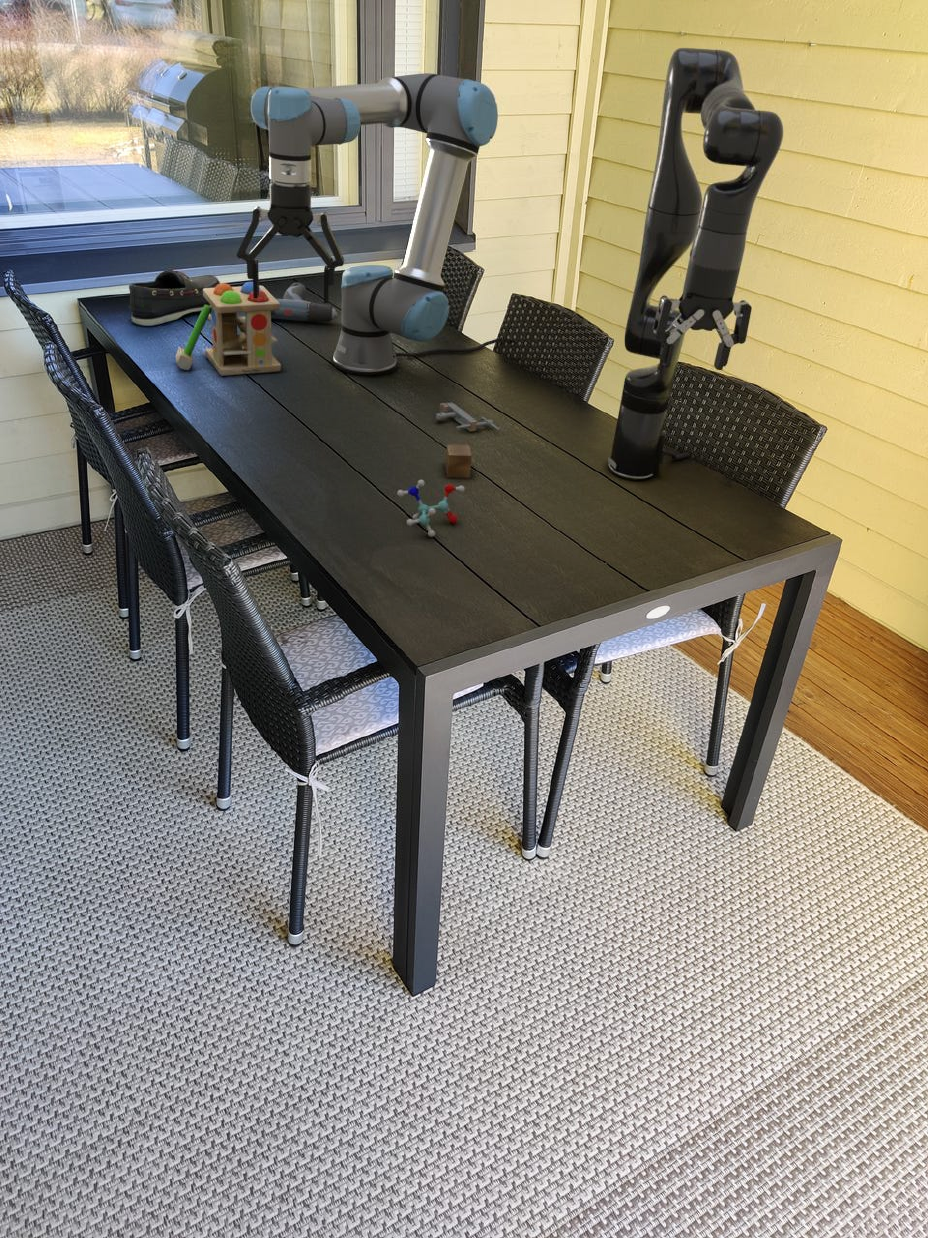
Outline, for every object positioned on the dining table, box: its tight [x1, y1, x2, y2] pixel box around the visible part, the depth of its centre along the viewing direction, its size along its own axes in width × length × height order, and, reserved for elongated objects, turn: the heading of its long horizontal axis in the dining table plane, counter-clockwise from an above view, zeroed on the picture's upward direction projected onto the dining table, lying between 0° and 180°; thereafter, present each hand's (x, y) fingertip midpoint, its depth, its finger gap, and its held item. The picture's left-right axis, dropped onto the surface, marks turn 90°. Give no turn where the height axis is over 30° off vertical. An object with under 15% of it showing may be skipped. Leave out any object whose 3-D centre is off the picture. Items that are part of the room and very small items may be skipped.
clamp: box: [435, 402, 502, 433], centre depth 212 cm, size 15×2×10 cm
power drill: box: [271, 282, 338, 322], centre depth 265 cm, size 5×19×20 cm
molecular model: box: [397, 479, 466, 538], centre depth 173 cm, size 12×10×10 cm
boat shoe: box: [128, 268, 221, 327], centre depth 258 cm, size 13×33×10 cm, turn 147°
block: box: [444, 444, 473, 479], centre depth 192 cm, size 4×5×5 cm
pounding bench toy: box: [174, 281, 282, 377], centre depth 225 cm, size 23×14×18 cm, turn 116°
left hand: (291, 298), depth 193 cm, fingers open, 13 cm apart
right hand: (691, 366), depth 153 cm, fingers open, 8 cm apart
